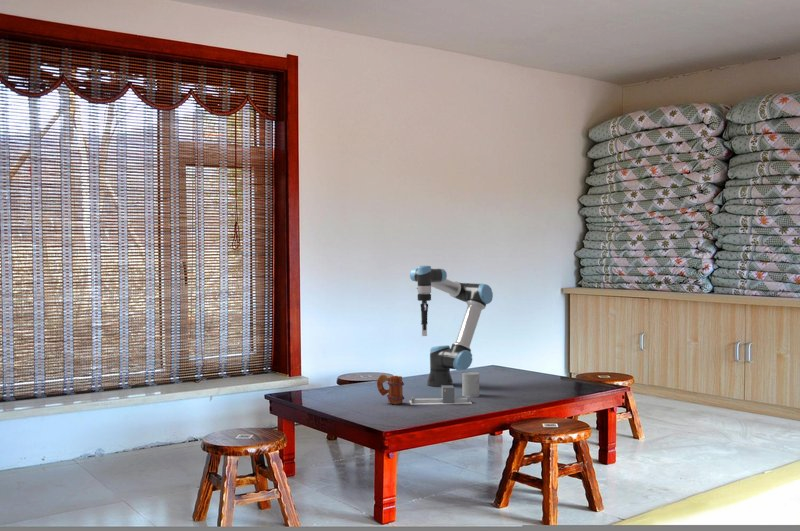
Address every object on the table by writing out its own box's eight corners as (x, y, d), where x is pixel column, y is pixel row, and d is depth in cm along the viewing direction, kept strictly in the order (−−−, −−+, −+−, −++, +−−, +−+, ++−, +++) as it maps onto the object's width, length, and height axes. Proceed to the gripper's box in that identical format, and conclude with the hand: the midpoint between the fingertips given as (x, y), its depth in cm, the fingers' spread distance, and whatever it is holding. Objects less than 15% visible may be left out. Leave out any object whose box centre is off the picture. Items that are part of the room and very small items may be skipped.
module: (441, 400, 410) (441, 385, 410) (452, 400, 410) (452, 385, 410) (443, 403, 403) (443, 387, 403) (454, 403, 403) (454, 387, 403)
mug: (406, 402, 407) (406, 374, 406) (402, 405, 399) (402, 376, 399) (380, 401, 411) (379, 372, 411) (375, 404, 403) (375, 375, 403)
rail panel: (409, 401, 410) (409, 396, 410) (469, 400, 412) (469, 395, 412) (410, 404, 401) (410, 399, 401) (472, 403, 403) (472, 398, 403)
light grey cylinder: (475, 393, 432) (475, 371, 432) (482, 396, 423) (482, 374, 423) (459, 394, 429) (459, 372, 429) (466, 397, 420) (466, 375, 420)
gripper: (416, 292, 435) (416, 334, 436) (418, 294, 422) (418, 337, 423) (429, 292, 436) (429, 334, 436) (432, 294, 423) (432, 337, 423)
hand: (424, 335), depth 429 cm, fingers closed
